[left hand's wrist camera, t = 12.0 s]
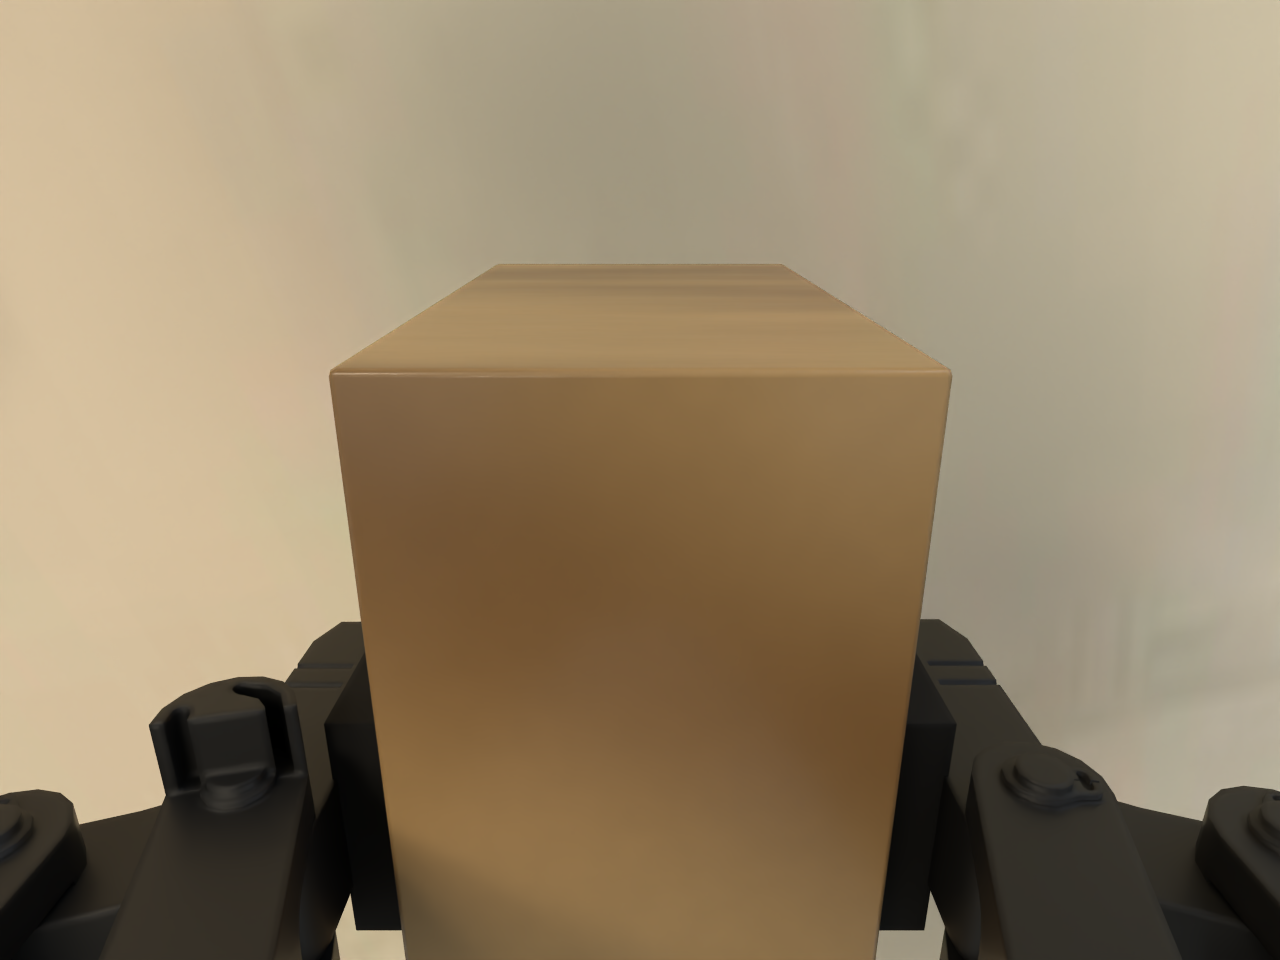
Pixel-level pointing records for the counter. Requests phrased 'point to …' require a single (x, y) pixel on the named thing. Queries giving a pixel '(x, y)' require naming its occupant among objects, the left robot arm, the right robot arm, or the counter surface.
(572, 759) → the post
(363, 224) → the counter surface
